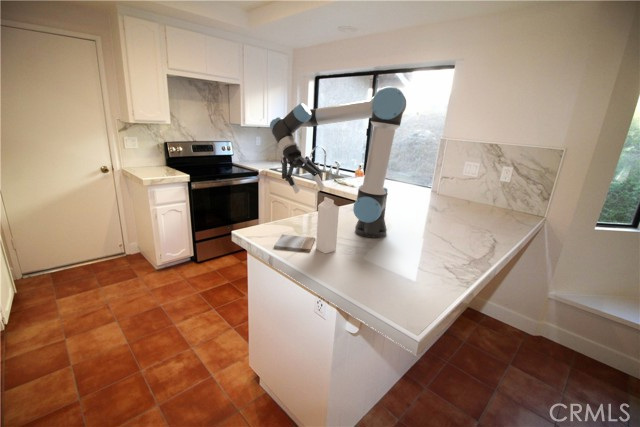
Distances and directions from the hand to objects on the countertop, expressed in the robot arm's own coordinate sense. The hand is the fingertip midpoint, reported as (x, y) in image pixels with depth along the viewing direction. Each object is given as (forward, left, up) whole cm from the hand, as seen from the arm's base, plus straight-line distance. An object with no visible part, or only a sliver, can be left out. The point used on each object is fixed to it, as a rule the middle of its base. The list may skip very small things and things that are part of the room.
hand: (310, 189), depth 126 cm
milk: (-9, +7, -23) cm, 26 cm away
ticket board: (+5, +5, -23) cm, 24 cm away
